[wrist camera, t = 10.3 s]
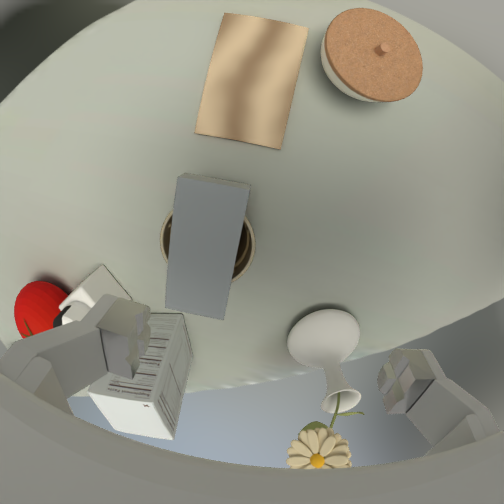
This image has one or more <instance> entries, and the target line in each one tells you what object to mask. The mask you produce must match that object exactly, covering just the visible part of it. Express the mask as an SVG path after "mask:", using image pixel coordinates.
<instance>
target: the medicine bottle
mask: <svg viewBox="0 0 504 504" xmlns="http://www.w3.org/2000/svg"><path fill="white" fill-rule="evenodd" d="M104 294H110V295H114V296H117V297H120V298H124V299H127V300H130V301H131V300H132V299H131V297H130V296H129V295H128V294H127V293H126V292H125V291H124V289H123V288H122V287H121V286H120V285H119V283H118V282H117V281H116V280H115V279H114V277H113V276H112V275H111V274H110V272H109V271H108V270H107V269H106V267H105V266H104V265H101V266H100V267H99V268H97V269H96V270H95V271H94V272H93V273H92V274H91V275H89V276H88V277H87V278H86V279H85V280H84V281H83V282H82V283H81V284H79V285H78V286H77V287H76V289H75V290H74V291H73V292H72V293H71V294H70V295H69V296H68V297H67V298H66V299H65V300H64V301H63V302H62V303H61V304H60V305H59V309H60V310H61V312H60V313H59V314H58V315H57V316H56V317H55V319H54V320H53V328H56V327H58V326H61V325H64V324H67V323H70V322H73V321H75V320H77V321H81V320H82V319H83V318H84V316H85V315H86V314H87V313H88V312H89V311H90V309H91V308H92V307H93V306H94V305H95V304H96V303H97V301H98V300H99V299H100V298H101V297H102V296H103V295H104Z"/></svg>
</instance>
